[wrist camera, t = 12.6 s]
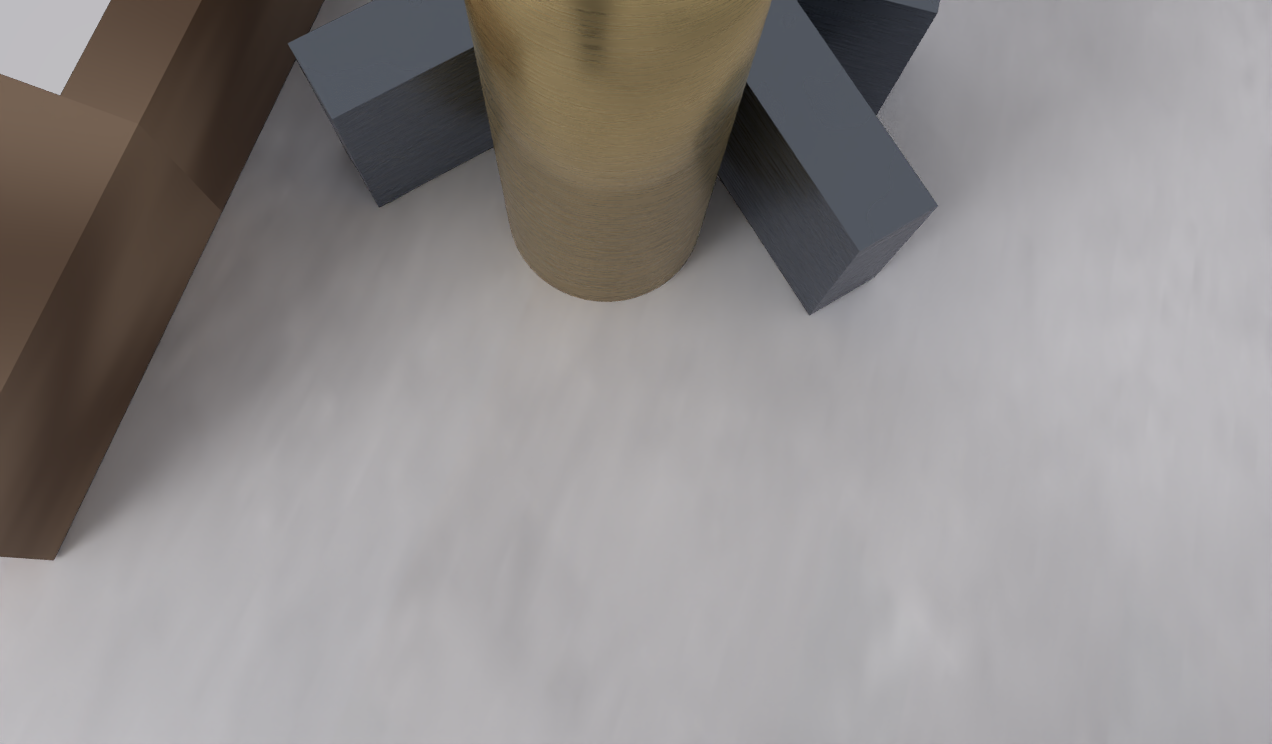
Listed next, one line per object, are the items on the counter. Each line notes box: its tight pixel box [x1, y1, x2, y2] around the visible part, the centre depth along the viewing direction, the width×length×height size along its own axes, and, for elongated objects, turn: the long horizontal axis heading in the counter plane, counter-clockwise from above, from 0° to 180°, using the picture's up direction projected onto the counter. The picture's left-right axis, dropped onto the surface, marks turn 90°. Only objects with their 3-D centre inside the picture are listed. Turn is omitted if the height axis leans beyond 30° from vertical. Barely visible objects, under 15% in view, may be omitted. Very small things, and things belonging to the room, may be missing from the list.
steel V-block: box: [288, 0, 940, 315], centre depth 20 cm, size 7×11×4 cm, turn 76°
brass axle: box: [464, 0, 772, 302], centre depth 15 cm, size 4×4×14 cm
